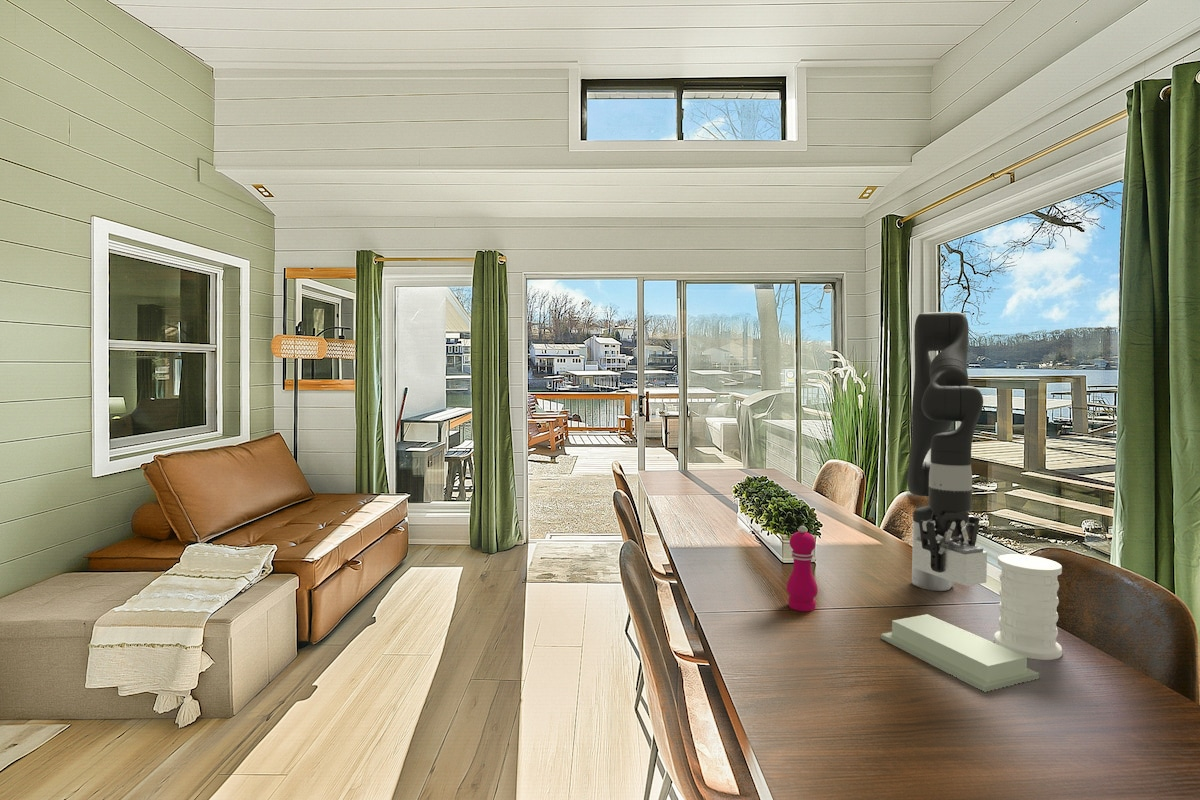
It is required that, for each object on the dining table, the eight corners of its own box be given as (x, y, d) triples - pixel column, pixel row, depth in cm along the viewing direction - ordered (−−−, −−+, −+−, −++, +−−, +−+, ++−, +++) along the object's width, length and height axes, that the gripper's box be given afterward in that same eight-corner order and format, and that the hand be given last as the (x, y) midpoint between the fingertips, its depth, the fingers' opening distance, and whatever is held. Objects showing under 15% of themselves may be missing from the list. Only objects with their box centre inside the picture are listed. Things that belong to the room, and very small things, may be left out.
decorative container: (1050, 639, 132) (1052, 556, 131) (1071, 663, 121) (1073, 573, 120) (987, 632, 135) (989, 551, 135) (1002, 655, 124) (1004, 567, 124)
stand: (930, 628, 137) (930, 611, 137) (1039, 678, 115) (1039, 657, 115) (880, 638, 132) (881, 620, 132) (984, 692, 110) (985, 670, 110)
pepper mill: (819, 613, 147) (820, 530, 146) (787, 611, 148) (788, 528, 147) (815, 602, 154) (816, 522, 153) (785, 600, 155) (785, 521, 154)
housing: (986, 582, 119) (987, 548, 119) (965, 586, 117) (966, 551, 117) (933, 564, 130) (933, 534, 130) (913, 567, 128) (913, 536, 128)
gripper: (940, 491, 117) (938, 579, 118) (993, 486, 122) (991, 571, 123) (907, 485, 124) (906, 568, 125) (959, 480, 129) (957, 560, 130)
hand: (948, 569), depth 124 cm, fingers closed on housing, 5 cm apart
